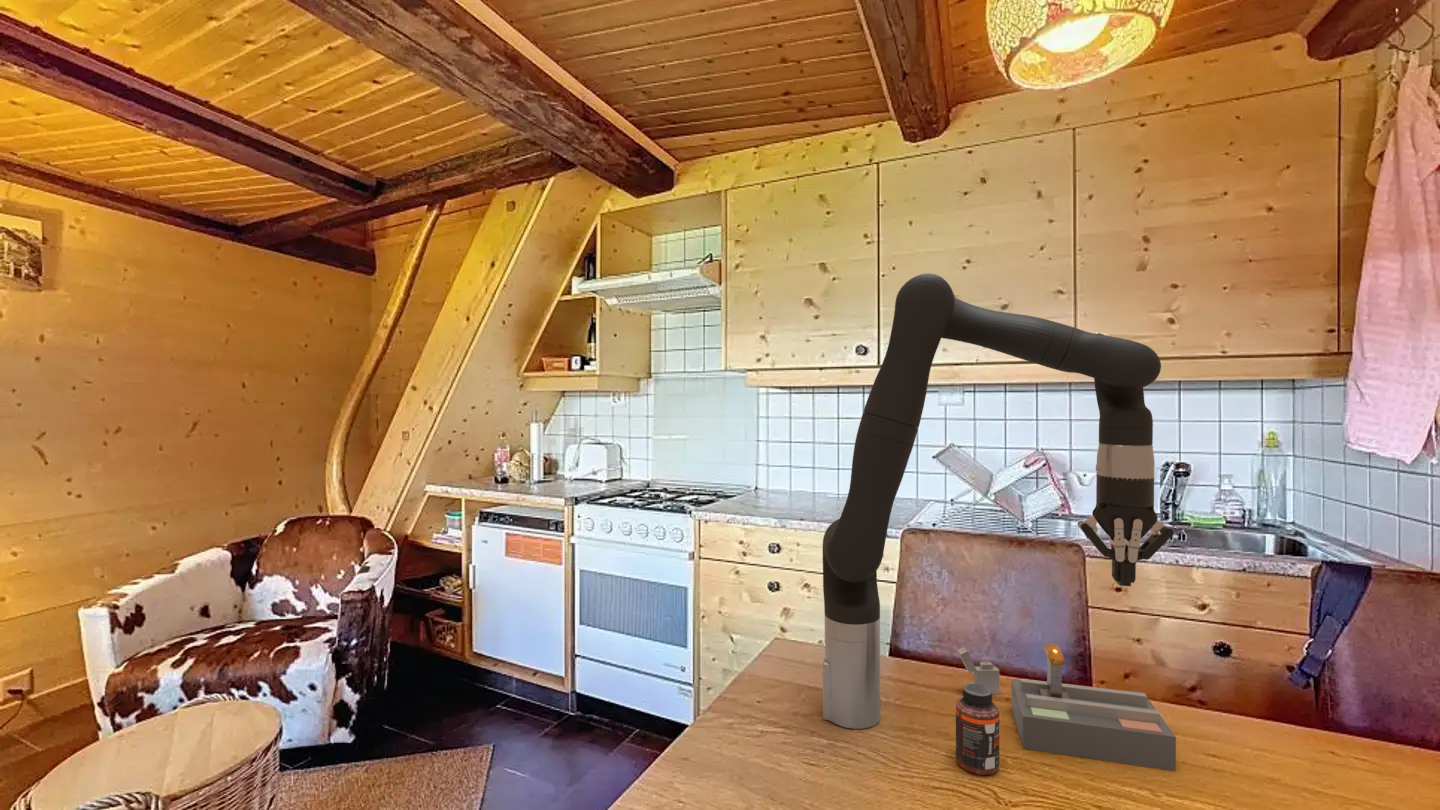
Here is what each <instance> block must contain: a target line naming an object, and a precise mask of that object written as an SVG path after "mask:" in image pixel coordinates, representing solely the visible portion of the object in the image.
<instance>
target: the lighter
mask: <svg viewBox="0 0 1440 810" xmlns="http://www.w3.org/2000/svg"><path fill="white" fill-rule="evenodd" d="M956 651H957V653H958V655H959V657H960V660H961V661H962V663H963V665H964V667H965V670H967V672H968V673H969V674H971V673H973V674H972V675H973V676H972V677H973V678H972V679H973V681H972V683H976V684H981V685H984V686H987V687H988V688H990V689H991V691H992V695H999V694H1000V669H999V668H998V667H997V666H995V665H994V663H993V662H992V663H991V661H981V662H979V666H975V664H974V662H973V660H972V657H971V656H970V654H969V651H968V650H967V649H966V648H965V647H964V646H963V647H961V648H958V649H957V650H956Z"/></svg>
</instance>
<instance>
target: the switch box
mask: <svg viewBox="0 0 1440 810" xmlns="http://www.w3.org/2000/svg"><path fill="white" fill-rule="evenodd" d="M1010 681H1011V683H1010V684H1011V693H1010V694H1011V697H1010V698H1011V700H1010V701H1011V706H1010V707H1011V711H1012V714H1013V717H1014V722H1015V725H1016V728H1017V733H1018V735H1019V739H1020V743H1021V746H1022V749H1023V750H1031V751H1038V752H1043V753H1050V754H1056V755H1057V754H1058V755H1063V756H1071V757H1075V758H1076V757H1077V758H1085V759H1091V760H1097V761H1098V760H1099V761H1105V762H1110V763H1118V764H1122V765H1123V764H1125V765H1130V766H1137V767H1138V766H1139V767H1145V768H1151V769H1156V770H1157V769H1159V770H1165V771H1172V772H1176V771H1177V736H1176V734H1175V733H1173V731H1172V729H1171V728H1170V726H1169V725H1168V724H1167V722H1166V721H1165V720H1164V718H1163V717H1162V716H1161V714H1160V712H1159V711H1158V710H1157V709H1156V707H1155V706H1154V705H1153V703H1152V702H1151V700H1150V699H1149V697H1148V696H1147V694H1146V693H1144V692H1137V691H1129V690H1122V689H1121V690H1120V689H1113V688H1112V689H1111V688H1103V687H1096V686H1095V687H1094V686H1087V685H1080V684H1079V685H1078V684H1069V683H1063V682H1062V690H1066V692H1067V694H1068V696H1069V698H1070V699H1062V698H1054V697H1046V696H1039V687H1042V688H1047V680H1045V681H1044V680H1036V679H1028V678H1020V679H1017V678H1016V679H1014V678H1011V680H1010Z"/></svg>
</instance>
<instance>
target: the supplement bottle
mask: <svg viewBox="0 0 1440 810" xmlns="http://www.w3.org/2000/svg"><path fill="white" fill-rule="evenodd" d="M961 694H962V696H961V697H960V698H959V699H958V700H957V701H956V704H955V759H956V762H957V763H958V765H959V766H960V767H961V768H962V769H964V770H965V771H967V772H969V773H972V774H975V775H983V776H989V775H994V774H995V773H996V772H997V771H998V770H999V768H1000V710H999V707H998V706H997V705H996V704H995V702H993V694H992V691H991V689H990V688H988V687H987V686H984V685H981V684H976V683H973V682H971V683H966V684H964V685H963V686H962V693H961Z"/></svg>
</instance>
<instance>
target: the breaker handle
mask: <svg viewBox="0 0 1440 810" xmlns="http://www.w3.org/2000/svg"><path fill="white" fill-rule="evenodd" d="M1044 652H1045V654H1046V657H1047V658H1046V659H1047V660H1046V662H1047V663H1046V665H1047V666H1046V669H1047V670H1046V671H1047V672H1046V682H1047V688H1042V687H1039V696H1046V697H1054V698H1062V699H1070V698H1069V696H1068V694H1067V692H1066V690H1062V683H1063V682H1062V681H1063V680H1062V679H1063V678H1062V677H1063V665H1064V664H1065V662H1066V661H1065V660H1066V659H1065V656H1064V654H1063V653H1062V651H1061V649H1060V647H1059V645H1057V644H1056V643H1054V642H1049V643H1046V644H1045V646H1044Z"/></svg>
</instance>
